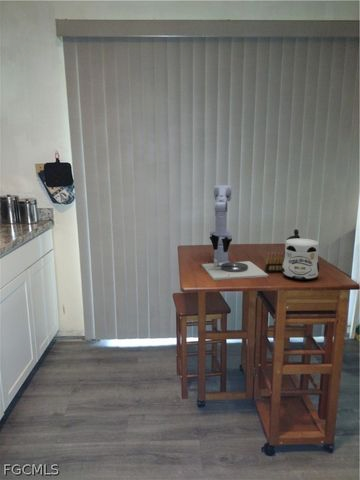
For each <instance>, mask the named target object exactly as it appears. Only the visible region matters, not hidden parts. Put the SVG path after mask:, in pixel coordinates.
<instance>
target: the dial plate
mask: <svg viewBox="0 0 360 480" xmlns="http://www.w3.org/2000/svg"><path fill="white" fill-rule="evenodd" d="M238 262H239V263H244V264H246V265H248V270H246V271H243V272H228V271H224V270H222V269H221V267H217V268H216V267H214V262H213V263H201V266H202V268H203V269H204V271H205V272H206V273H207V274H208V275H209V277H210V278H211V279H212V281H219V280H222V281H223V280H225V281H226V280H236V279H254V278H267V277H269V274H268V273H267V272H265V270H263V269H261V267H258V265H256V264H254V263H253V262H252V261H251V260H250V261H247V260H245V261H238ZM222 264H224V263H219V265H222Z"/></svg>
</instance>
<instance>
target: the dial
mask: <svg viewBox="0 0 360 480" xmlns="http://www.w3.org/2000/svg"><path fill="white" fill-rule="evenodd" d="M213 259H214V258H213ZM239 262H240V261H234V262H233V261H232V262H228V263H224V264H222V265H219V259H214V260H213V263H214V267H216V268H217V267H221V269H222V270H224V271H228V272H243V271H246V270H248V265H246V264H244V263H239Z"/></svg>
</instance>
